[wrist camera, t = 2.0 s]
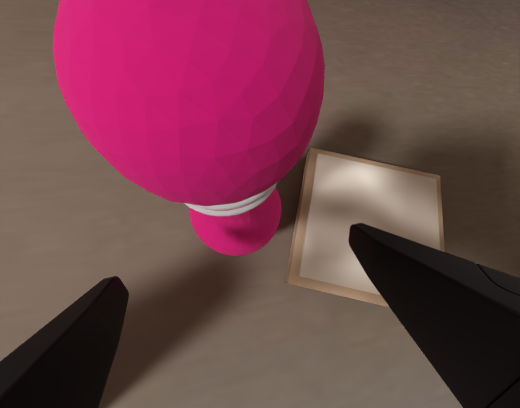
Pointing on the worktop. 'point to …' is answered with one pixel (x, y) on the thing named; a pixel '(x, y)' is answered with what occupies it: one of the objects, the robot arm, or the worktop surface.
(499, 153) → the worktop surface
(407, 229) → the light brown flat square
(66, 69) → the pepper mill
